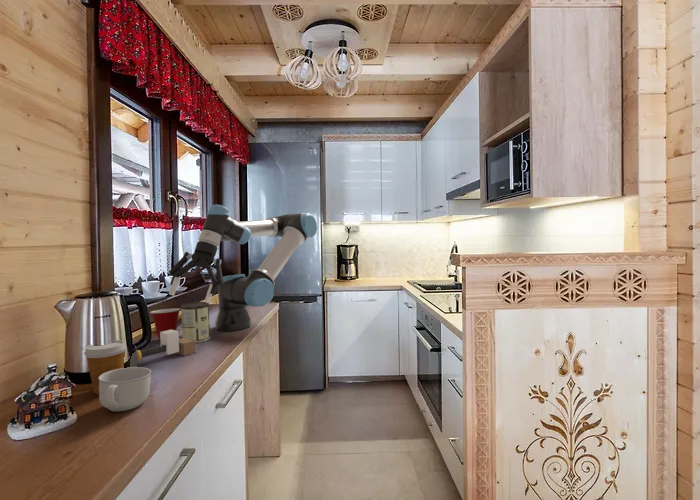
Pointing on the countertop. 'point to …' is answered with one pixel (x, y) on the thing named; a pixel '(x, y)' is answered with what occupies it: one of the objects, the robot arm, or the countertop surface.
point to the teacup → (124, 388)
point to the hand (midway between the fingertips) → (188, 298)
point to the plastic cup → (165, 320)
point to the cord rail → (184, 349)
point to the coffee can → (195, 321)
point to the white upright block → (170, 341)
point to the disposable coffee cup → (104, 360)
